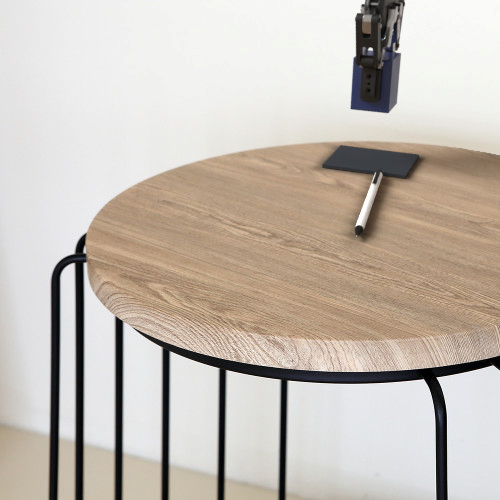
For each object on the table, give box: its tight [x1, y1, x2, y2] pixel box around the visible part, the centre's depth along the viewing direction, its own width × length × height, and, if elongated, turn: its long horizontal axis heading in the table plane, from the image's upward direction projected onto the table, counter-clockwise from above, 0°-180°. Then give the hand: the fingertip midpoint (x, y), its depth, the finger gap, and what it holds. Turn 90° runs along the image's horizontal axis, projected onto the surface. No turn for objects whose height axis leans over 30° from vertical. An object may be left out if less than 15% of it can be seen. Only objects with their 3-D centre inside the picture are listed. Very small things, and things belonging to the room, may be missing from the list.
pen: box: [354, 169, 383, 238], centre depth 84 cm, size 1×19×1 cm, turn 165°
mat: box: [321, 144, 420, 179], centre depth 97 cm, size 10×8×1 cm
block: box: [349, 49, 402, 114], centre depth 92 cm, size 4×4×6 cm
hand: (375, 95), depth 93 cm, fingers closed on block, 4 cm apart
